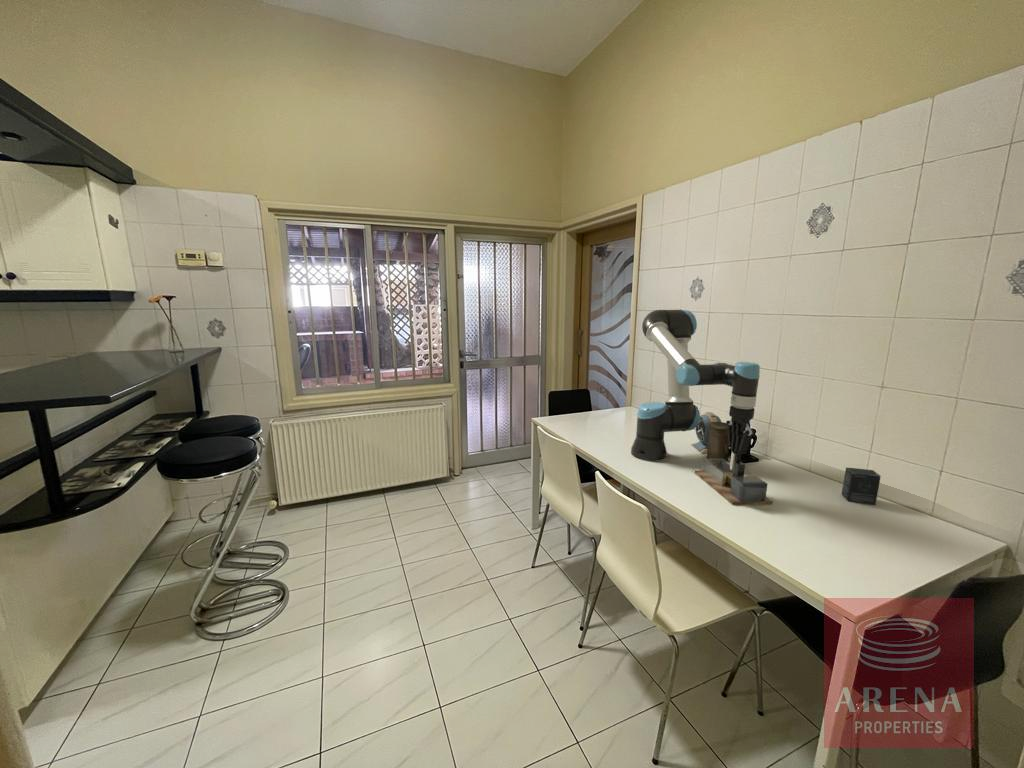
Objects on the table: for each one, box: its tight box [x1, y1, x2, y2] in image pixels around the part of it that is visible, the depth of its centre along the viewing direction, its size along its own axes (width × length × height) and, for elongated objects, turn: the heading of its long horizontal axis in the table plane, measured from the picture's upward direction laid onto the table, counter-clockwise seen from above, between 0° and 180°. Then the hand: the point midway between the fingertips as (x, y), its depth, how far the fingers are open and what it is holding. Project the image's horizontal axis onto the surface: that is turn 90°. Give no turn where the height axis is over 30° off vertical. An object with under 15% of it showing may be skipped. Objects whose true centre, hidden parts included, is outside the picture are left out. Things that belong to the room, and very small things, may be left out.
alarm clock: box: [690, 411, 722, 455], centre depth 185 cm, size 14×10×18 cm
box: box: [841, 466, 882, 506], centre depth 138 cm, size 8×6×11 cm
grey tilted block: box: [701, 458, 734, 486], centre depth 153 cm, size 14×8×5 cm, turn 3°
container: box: [705, 421, 730, 463], centre depth 166 cm, size 9×9×18 cm
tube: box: [725, 461, 746, 486], centre depth 142 cm, size 14×4×10 cm, turn 3°
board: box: [694, 469, 774, 506], centre depth 148 cm, size 26×14×1 cm, turn 3°
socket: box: [730, 475, 768, 502], centre depth 137 cm, size 6×8×6 cm
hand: (734, 469), depth 146 cm, fingers closed
